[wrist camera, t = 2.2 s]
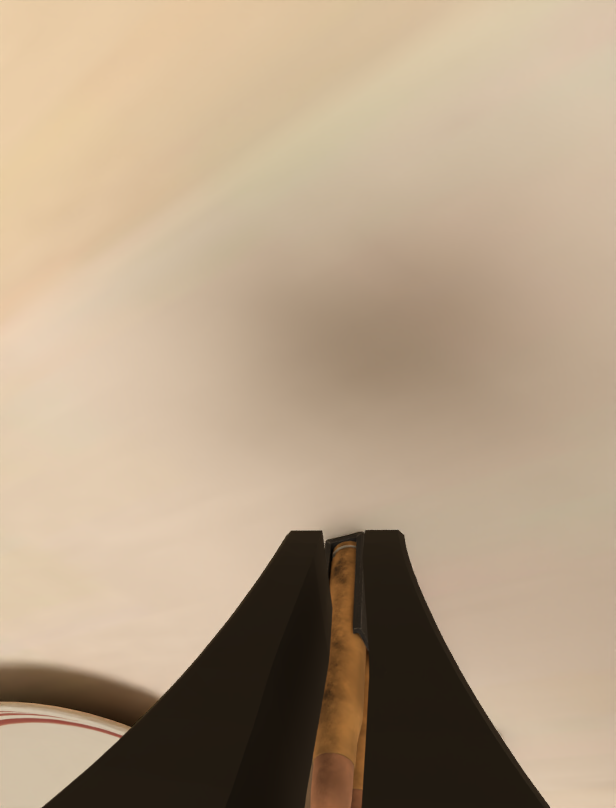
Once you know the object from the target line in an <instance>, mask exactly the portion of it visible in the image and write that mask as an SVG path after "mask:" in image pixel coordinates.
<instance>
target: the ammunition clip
mask: <svg viewBox="0 0 616 808" xmlns="http://www.w3.org/2000/svg"><path fill="white" fill-rule="evenodd" d="M364 537H365V534H364V532H363V533H362V532H361V533H357V534H352V535H348V536H344V537H340V538H336V539H332V540H328V541H326V543H325V555H326V563H327V570H328V578H329V585H330V593H331V600H332V608H333V610H332V627H331V643H330V657H329V665H328V671H327V677H326V683H325V689H324V695H323V701H322V707H321V713H320V718H319V724H318V730H317V736H316V742H315V747H314V753H313V774H312V784H311V804H310V808H361V806H362V791H363V775H364V759H365V743H366V725H367V706H368V687H369V647H368V633H367V618H366V604H365V589H364V574H363V560H362V555H363V545H364Z"/></svg>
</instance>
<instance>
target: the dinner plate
mask: <svg viewBox="0 0 616 808" xmlns="http://www.w3.org/2000/svg"><path fill="white" fill-rule="evenodd" d="M130 728H131V727H130V726H127V725H125V724H122V723H119V722H116V721H113V720H110V719H106V718H103V717H100V716H96V715H93V714H90V713H86V712H81V711H77V710H72V709H67V708H62V707H57V706H50V705H43V704H36V703H23V702H0V808H42V807H43V806H44V805H45V804H46V803H47V802H49V801H50V800H51V799H52V798H53V797H55V796H56V795H57V794H58V793H59V792H60V791H62V790H63V789H64V788H65V787H66V786H68V785H69V784H70V783H71V782H72V781H73V780H75V779H76V778H77V777H78V776H79V775H80V774H82V773H83V772H84V771H85V770H86V769H88V768H89V767H90V766H91V765H92V764H93V763H94V762H95V761H96V760H97V759H99V758H100V757H101V756H102V755H103V754H104V753H105V752H106V751H107V750H108V749H109V748H111V747H112V746H113V745H114V744H115V743H116V742H117V741H118V740H119V739H120V738H121V737H122V736H123V735H124V734H125V733H126V732H127V731H128V730H129V729H130Z"/></svg>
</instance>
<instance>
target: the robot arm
mask: <svg viewBox="0 0 616 808" xmlns="http://www.w3.org/2000/svg"><path fill="white" fill-rule="evenodd" d="M362 560H363V574H364V589H365V604H366V618H367V633H368V647H369V687H368V706H367V725H366V743H365V759H364V775H363V791H362V806H361V808H550V807H549V805H548V804H547V802H546V801H545V800H544V798H543V797H542V796H541V794H540V793H539V791H538V790H537V789H536V787H535V786H534V785H533V783H532V782H531V780H530V779H529V778H528V776H527V775H526V774H525V772H524V771H523V769H522V768H521V766H520V765H519V763H518V762H517V760H516V759H515V757H514V756H513V754H512V753H511V751H510V750H509V748H508V747H507V745H506V744H505V742H504V741H503V739H502V738H501V736H500V735H499V733H498V732H497V730H496V729H495V727H494V726H493V724H492V722H491V721H490V719H489V718H488V716H487V714H486V713H485V711H484V710H483V708H482V706H481V705H480V703H479V702H478V700H477V698H476V697H475V695H474V693H473V691H472V690H471V688H470V686H469V685H468V683H467V681H466V679H465V678H464V676H463V674H462V672H461V671H460V669H459V667H458V665H457V663H456V661H455V660H454V658H453V656H452V654H451V652H450V650H449V649H448V647H447V645H446V643H445V641H444V639H443V637H442V635H441V633H440V631H439V629H438V627H437V625H436V623H435V621H434V618H433V616H432V614H431V612H430V610H429V608H428V605H427V603H426V601H425V599H424V597H423V594H422V592H421V590H420V587H419V585H418V582H417V579H416V577H415V574H414V571H413V569H412V566H411V563H410V560H409V556H408V553H407V549H406V544H405V538H404V535H403V534H402V533H401V532H400V531H399V530H365V537H364V545H363V555H362ZM332 610H333V608H332V600H331V593H330V585H329V578H328V570H327V563H326V555H325V548H324V540H323V533H322V531H291V532H290V533H289V534H288V535H287V536H286V537H285V539H284V540H283V542H282V544H281V545H280V547H279V548H278V550H277V552H276V553H275V555H274V556H273V558H272V559H271V561H270V562H269V564H268V565H267V567H266V568H265V570H264V571H263V573H262V574H261V576H260V577H259V578H258V580H257V581H256V583H255V584H254V586H253V587H252V588H251V590H250V591H249V592H248V594H247V595H246V597H245V598H244V599H243V601H242V602H241V603H240V605H239V606H238V608H237V609H236V610H235V612H234V613H233V614H232V616H231V617H230V618H229V620H228V621H227V622H226V623H225V625H224V626H223V627H222V628H221V629H220V631H219V632H218V633H217V634H216V636H215V637H214V638H213V639H212V641H211V642H210V643H209V644H208V645H207V647H206V648H205V649H204V650H203V652H202V653H201V654H200V655H199V656H198V658H197V659H196V660H195V661H194V662H193V663H192V664H191V666H190V667H189V668H188V669H187V670H186V671H185V672H184V674H183V675H182V676H181V677H180V678H179V679H178V680H177V681H176V682H175V683H174V685H173V686H172V687H171V688H170V689H169V690H168V691H167V692H166V693H165V694H164V695H163V696H162V697H161V698H160V699H159V700H158V701H157V702H156V704H155V705H154V706H153V707H152V708H151V709H150V710H149V711H148V712H147V713H146V714H145V715H144V716H143V717H142V718H140V719H139V720H138V721H137V722H136V723H135V724H134V725H133V726H132V727H131V728H130V729H129V730H128V731H127V732H126V733H125V734H124V735H123V736H122V737H121V738H120V739H119V740H118V741H117V742H116V743H115V744H114V745H113V746H112V747H111V748H109V749H108V750H107V751H106V752H105V753H104V754H103V755H102V756H101V757H100V758H99V759H97V760H96V761H95V762H94V763H93V764H92V765H91V766H90V767H89V768H88V769H86V770H85V771H84V772H83V773H82V774H80V775H79V776H78V777H77V778H76V779H75V780H73V781H72V782H71V783H70V784H69V785H68V786H66V787H65V788H64V789H63V790H62V791H60V792H59V793H58V794H57V795H56V796H55V797H53V798H52V799H51V800H50V801H49V802H47V803H46V804H45V805H44V806H43V807H42V808H305V802H306V794H307V788H308V782H309V776H310V770H311V765H312V759H313V753H314V747H315V742H316V736H317V730H318V724H319V718H320V713H321V707H322V701H323V695H324V689H325V683H326V677H327V671H328V665H329V657H330V643H331V627H332Z"/></svg>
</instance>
